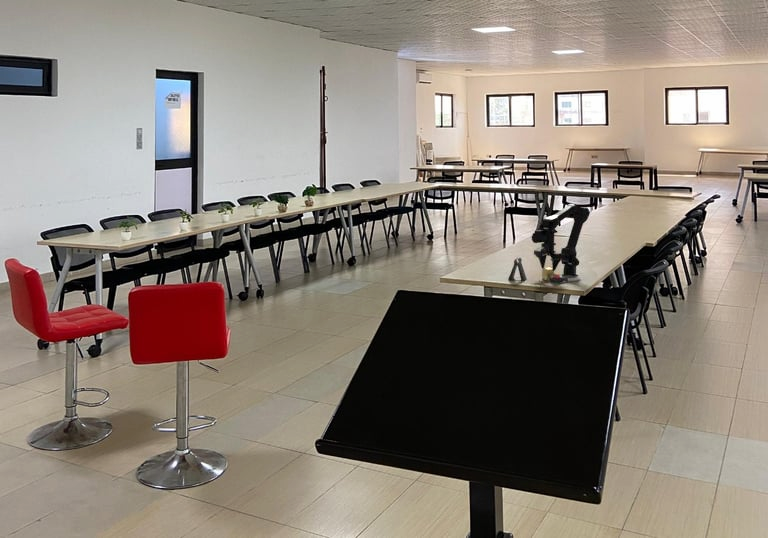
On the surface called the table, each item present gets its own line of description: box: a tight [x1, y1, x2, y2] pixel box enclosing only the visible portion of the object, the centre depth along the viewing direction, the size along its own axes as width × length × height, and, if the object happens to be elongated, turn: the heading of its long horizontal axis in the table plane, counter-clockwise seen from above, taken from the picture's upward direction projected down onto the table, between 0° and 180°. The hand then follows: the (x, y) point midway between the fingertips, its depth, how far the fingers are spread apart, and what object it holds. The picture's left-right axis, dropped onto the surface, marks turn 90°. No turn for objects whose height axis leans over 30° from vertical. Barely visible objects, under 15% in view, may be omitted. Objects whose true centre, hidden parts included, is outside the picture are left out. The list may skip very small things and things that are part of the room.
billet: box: [541, 267, 555, 281], centre depth 415 cm, size 4×4×6 cm
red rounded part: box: [553, 273, 561, 278], centre depth 407 cm, size 3×3×3 cm
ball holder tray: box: [546, 275, 580, 285], centre depth 409 cm, size 16×8×3 cm, turn 117°
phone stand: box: [507, 257, 527, 282], centre depth 414 cm, size 9×6×12 cm, turn 68°
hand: (548, 269), depth 415 cm, fingers open, 9 cm apart
